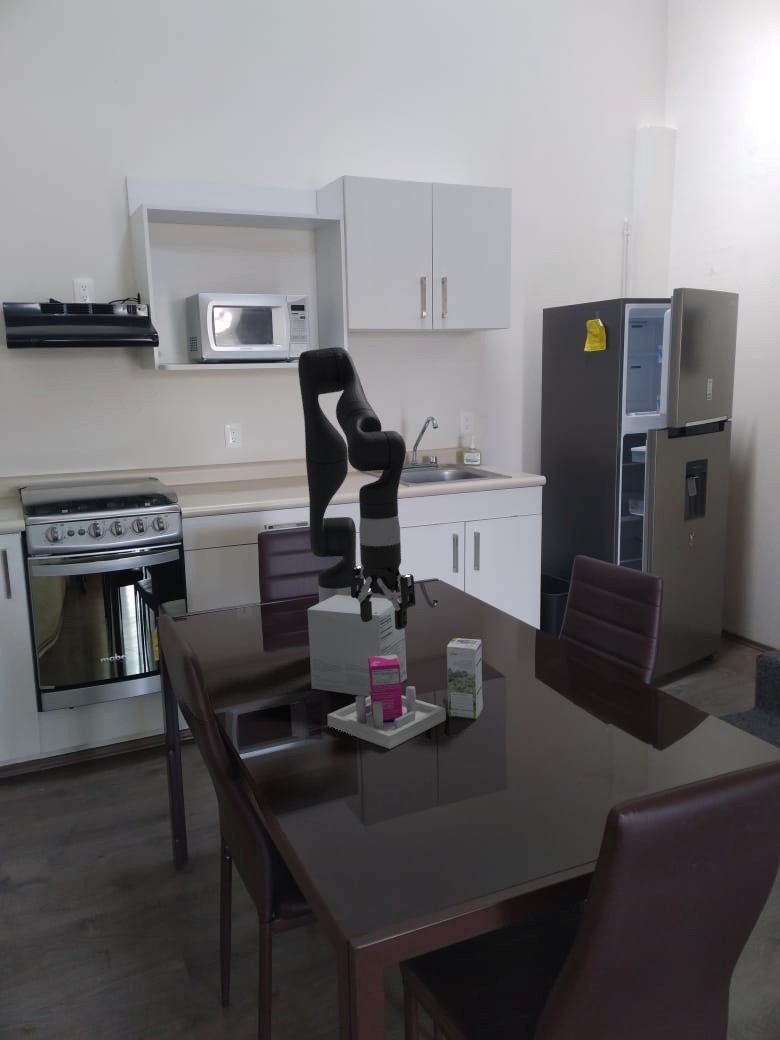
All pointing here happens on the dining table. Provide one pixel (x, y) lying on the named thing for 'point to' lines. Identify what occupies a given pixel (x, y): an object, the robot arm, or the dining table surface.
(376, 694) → the supplement box
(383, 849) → the dining table surface
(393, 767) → the dining table surface
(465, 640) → the syrup box
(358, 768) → the dining table surface
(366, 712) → the tray
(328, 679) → the supplement box
